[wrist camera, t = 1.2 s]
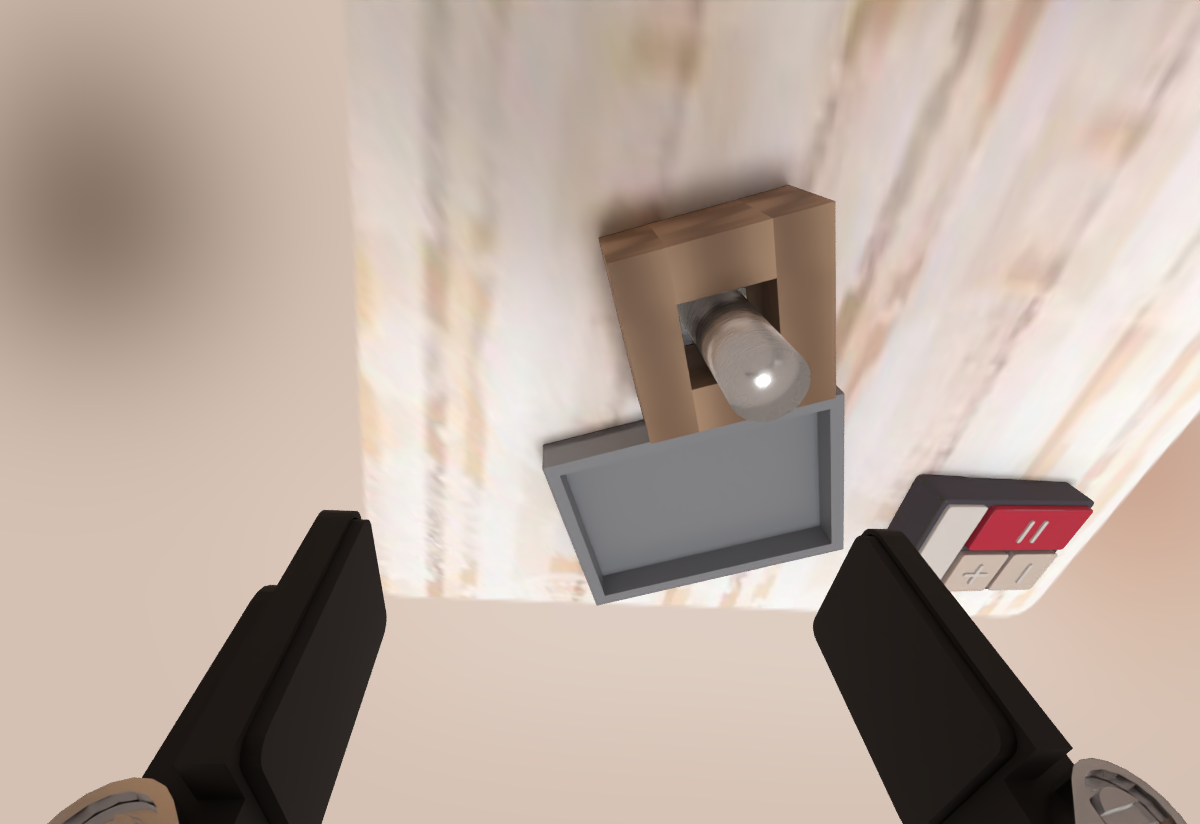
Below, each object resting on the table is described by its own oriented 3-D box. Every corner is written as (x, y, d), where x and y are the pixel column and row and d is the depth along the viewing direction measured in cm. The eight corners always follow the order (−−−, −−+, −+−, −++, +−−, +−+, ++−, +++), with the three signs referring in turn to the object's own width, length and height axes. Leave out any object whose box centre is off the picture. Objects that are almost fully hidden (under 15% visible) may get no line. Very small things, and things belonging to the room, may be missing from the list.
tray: (825, 374, 38) (844, 393, 36) (827, 524, 46) (843, 549, 44) (543, 445, 40) (542, 468, 37) (594, 578, 48) (596, 605, 45)
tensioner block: (789, 185, 31) (835, 201, 26) (797, 357, 37) (835, 398, 32) (598, 237, 32) (606, 263, 27) (638, 398, 38) (650, 444, 33)
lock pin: (731, 265, 33) (809, 338, 23) (737, 321, 35) (811, 410, 25) (671, 282, 34) (722, 360, 23) (681, 336, 36) (732, 430, 25)
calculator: (1033, 595, 49) (894, 598, 46) (998, 560, 52) (866, 562, 50) (1106, 507, 43) (951, 506, 41) (1060, 475, 47) (916, 472, 44)
